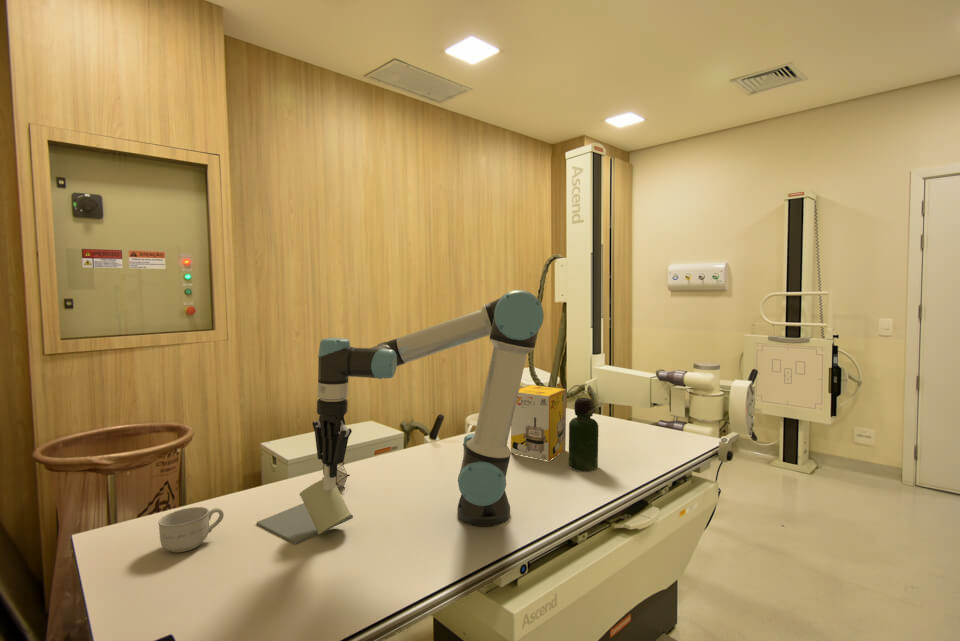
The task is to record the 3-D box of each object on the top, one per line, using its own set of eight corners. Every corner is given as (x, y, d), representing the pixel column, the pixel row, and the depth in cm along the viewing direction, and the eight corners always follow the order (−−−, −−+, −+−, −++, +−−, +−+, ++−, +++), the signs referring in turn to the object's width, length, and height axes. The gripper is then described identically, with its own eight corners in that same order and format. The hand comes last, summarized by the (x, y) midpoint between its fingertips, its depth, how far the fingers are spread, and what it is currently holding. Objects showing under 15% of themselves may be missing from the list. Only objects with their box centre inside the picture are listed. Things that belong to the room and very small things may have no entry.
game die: (339, 502, 153) (339, 484, 147) (316, 490, 154) (315, 473, 148) (354, 480, 160) (355, 462, 154) (332, 469, 161) (333, 451, 155)
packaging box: (565, 450, 193) (566, 389, 192) (548, 462, 179) (549, 396, 178) (529, 443, 202) (529, 384, 200) (510, 454, 188) (511, 391, 187)
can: (358, 510, 128) (338, 470, 130) (336, 522, 119) (315, 479, 122) (334, 526, 130) (315, 486, 133) (311, 539, 122) (291, 496, 124)
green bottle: (565, 469, 172) (566, 401, 170) (571, 460, 181) (572, 395, 180) (595, 474, 168) (596, 403, 166) (599, 464, 177) (600, 397, 176)
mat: (352, 517, 135) (352, 515, 134) (295, 544, 120) (295, 542, 120) (313, 501, 145) (313, 499, 145) (256, 524, 130) (256, 522, 130)
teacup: (156, 562, 112) (155, 529, 111) (162, 541, 121) (161, 510, 121) (223, 547, 118) (223, 516, 118) (224, 528, 128) (223, 499, 127)
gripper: (304, 396, 123) (301, 486, 124) (337, 404, 116) (333, 500, 117) (328, 392, 129) (325, 478, 131) (361, 400, 122) (357, 490, 123)
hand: (329, 488), depth 124 cm, fingers closed
